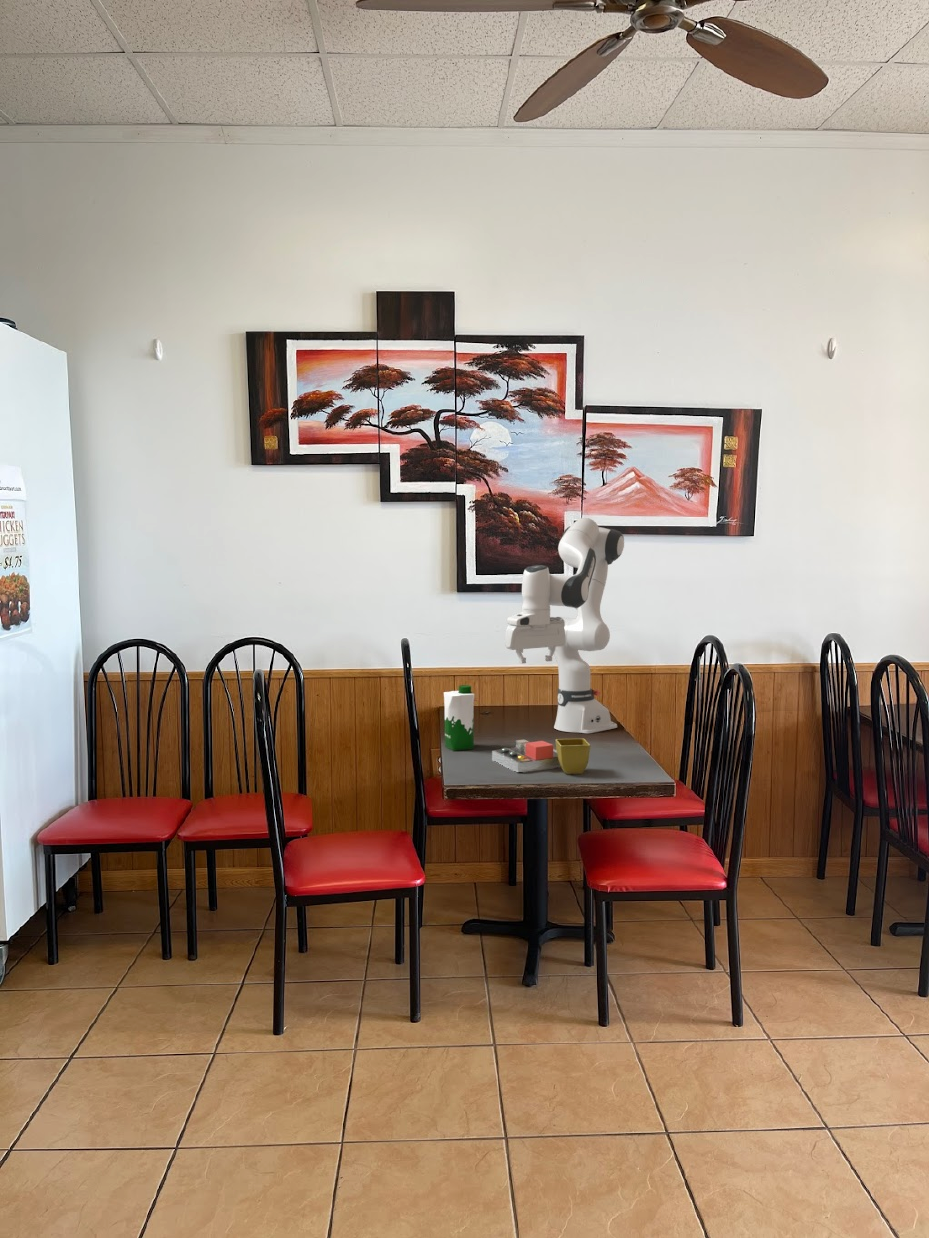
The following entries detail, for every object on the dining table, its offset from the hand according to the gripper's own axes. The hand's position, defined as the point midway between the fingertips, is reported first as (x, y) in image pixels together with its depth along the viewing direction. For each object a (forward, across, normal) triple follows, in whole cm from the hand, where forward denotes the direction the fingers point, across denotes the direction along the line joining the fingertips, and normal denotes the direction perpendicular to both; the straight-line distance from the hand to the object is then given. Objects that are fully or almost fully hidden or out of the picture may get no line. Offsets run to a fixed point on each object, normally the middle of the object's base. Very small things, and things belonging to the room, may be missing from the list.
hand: (535, 662), depth 284 cm
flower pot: (+29, +1, +23) cm, 37 cm away
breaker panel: (+29, +7, +9) cm, 31 cm away
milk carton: (+29, +18, -18) cm, 39 cm away
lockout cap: (+26, +7, +14) cm, 30 cm away
